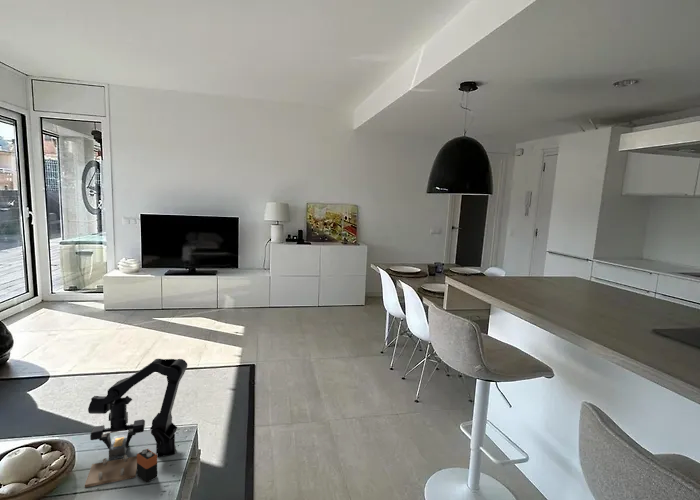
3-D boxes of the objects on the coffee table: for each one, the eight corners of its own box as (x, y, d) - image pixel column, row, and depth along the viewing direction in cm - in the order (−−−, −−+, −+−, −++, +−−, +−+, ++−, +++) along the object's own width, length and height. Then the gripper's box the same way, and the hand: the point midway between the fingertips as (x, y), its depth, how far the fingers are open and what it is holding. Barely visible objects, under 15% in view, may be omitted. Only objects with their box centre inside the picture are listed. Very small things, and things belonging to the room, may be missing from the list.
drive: (113, 445, 161) (113, 436, 161) (128, 443, 164) (128, 433, 163) (108, 460, 152) (108, 450, 152) (124, 457, 154) (124, 447, 154)
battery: (146, 483, 141) (146, 458, 140) (136, 476, 144) (136, 451, 143) (157, 477, 144) (157, 452, 143) (147, 470, 148) (147, 445, 147)
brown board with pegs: (139, 457, 155) (138, 450, 154) (135, 477, 144) (135, 469, 143) (92, 466, 148) (92, 458, 148) (84, 487, 137) (84, 479, 137)
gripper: (146, 400, 167) (146, 433, 169) (95, 406, 160) (96, 442, 161) (143, 412, 157) (143, 448, 159) (89, 420, 150) (90, 458, 151)
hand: (118, 448), depth 158 cm, fingers closed on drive, 5 cm apart
